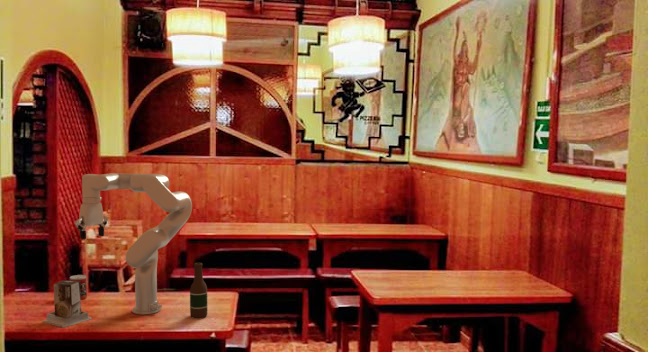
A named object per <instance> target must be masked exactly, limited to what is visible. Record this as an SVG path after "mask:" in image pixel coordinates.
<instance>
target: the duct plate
mask: <svg viewBox="0 0 648 352" xmlns="http://www.w3.org/2000/svg"><path fill="white" fill-rule="evenodd" d="M92 319H93V317H92V316H89V312H87V311H84V310H81V314H79V315H76V316H72V317H69V318H64V317H60V316H57V315H55V311H52V312H48V313H46V319H43V320H42V323H45V324H47V325H52V326H55V327H59V328H62V329H63V328H66V327H67V328H68V327H71V326H74V325H77V324H80V323H83V322H86V321H89V320H92Z"/></svg>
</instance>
